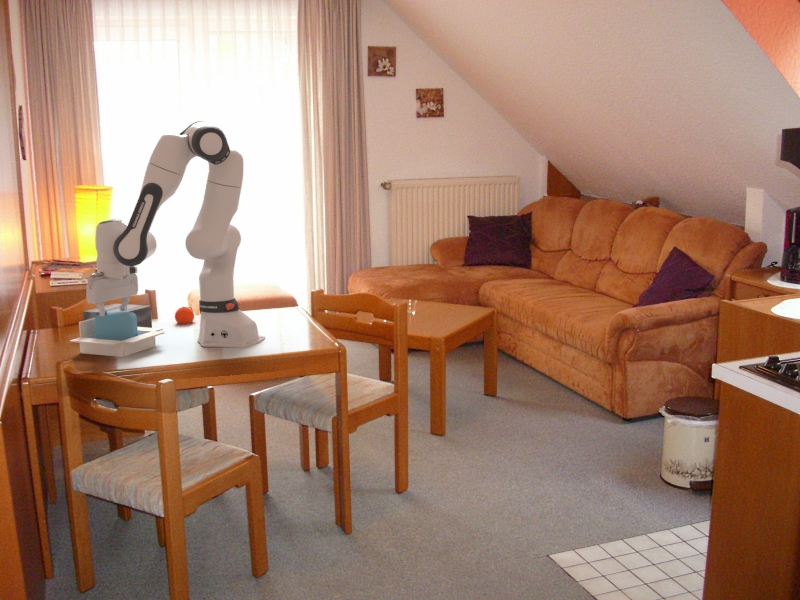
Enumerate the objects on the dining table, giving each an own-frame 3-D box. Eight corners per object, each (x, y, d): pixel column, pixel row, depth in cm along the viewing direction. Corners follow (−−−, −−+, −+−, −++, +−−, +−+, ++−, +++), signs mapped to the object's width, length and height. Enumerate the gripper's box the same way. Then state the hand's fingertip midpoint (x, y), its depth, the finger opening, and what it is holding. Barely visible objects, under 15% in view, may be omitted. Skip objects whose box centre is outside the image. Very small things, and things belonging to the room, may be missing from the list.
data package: (139, 348, 258) (136, 311, 256) (134, 351, 254) (132, 314, 251) (102, 348, 258) (99, 312, 256) (97, 352, 253) (94, 315, 251)
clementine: (186, 322, 299) (185, 303, 297) (200, 323, 295) (199, 305, 294) (171, 326, 292) (170, 307, 290) (185, 328, 288) (184, 308, 287)
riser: (152, 330, 285) (150, 305, 283) (121, 339, 270) (119, 313, 269) (116, 327, 291) (114, 303, 289) (84, 336, 276) (82, 311, 274)
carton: (173, 344, 262) (171, 314, 261) (124, 361, 241) (122, 329, 239) (123, 339, 270) (120, 311, 268) (71, 356, 248) (68, 324, 246)
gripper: (96, 275, 241) (98, 319, 243) (140, 267, 260) (142, 308, 262) (79, 274, 243) (82, 318, 245) (125, 265, 262) (126, 306, 264)
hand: (113, 313), depth 254 cm, fingers open, 8 cm apart
